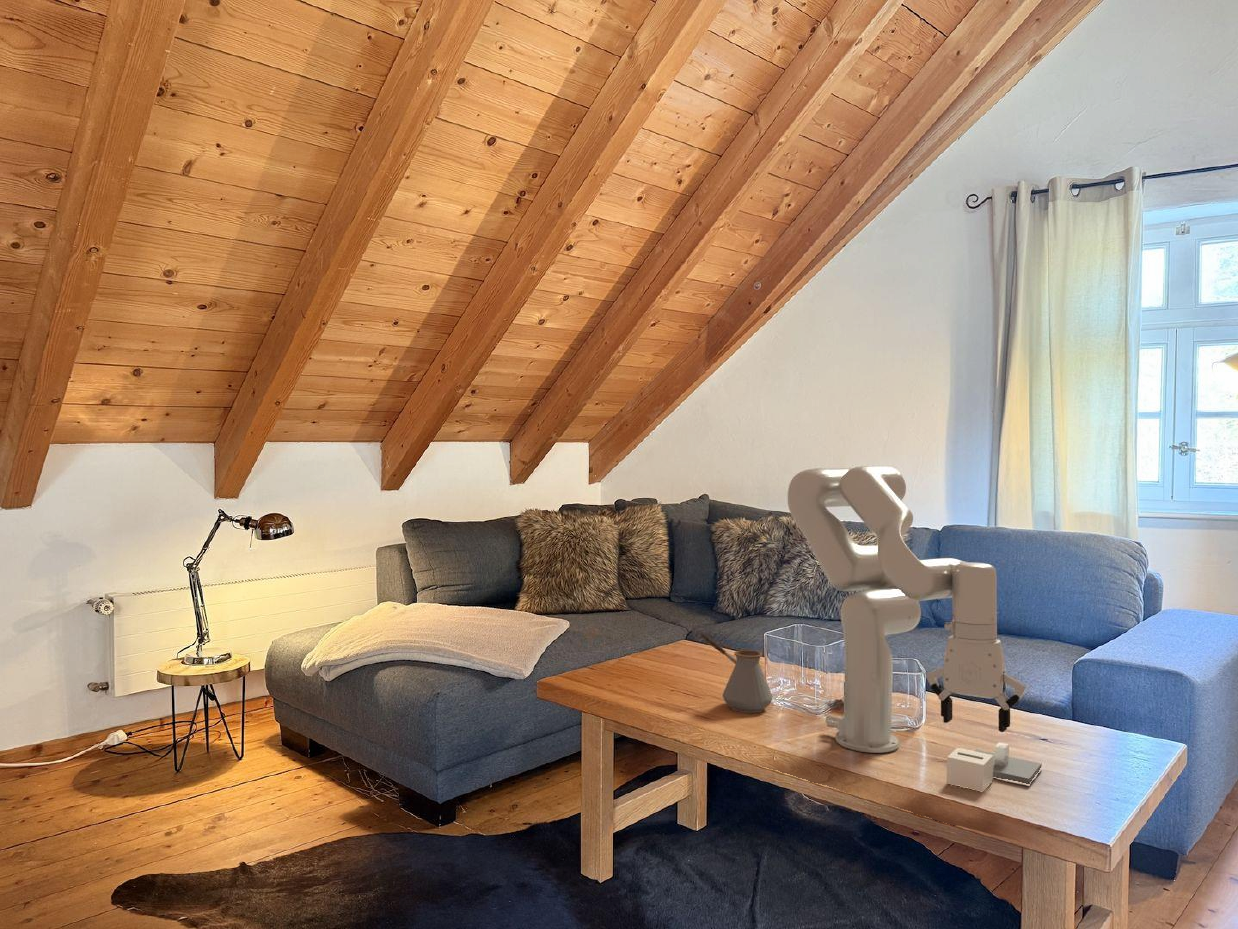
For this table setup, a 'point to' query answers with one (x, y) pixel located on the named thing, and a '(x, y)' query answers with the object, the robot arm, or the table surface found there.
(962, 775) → the cream coin box
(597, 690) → the table surface
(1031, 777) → the plate
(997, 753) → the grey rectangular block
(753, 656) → the coffee pot
